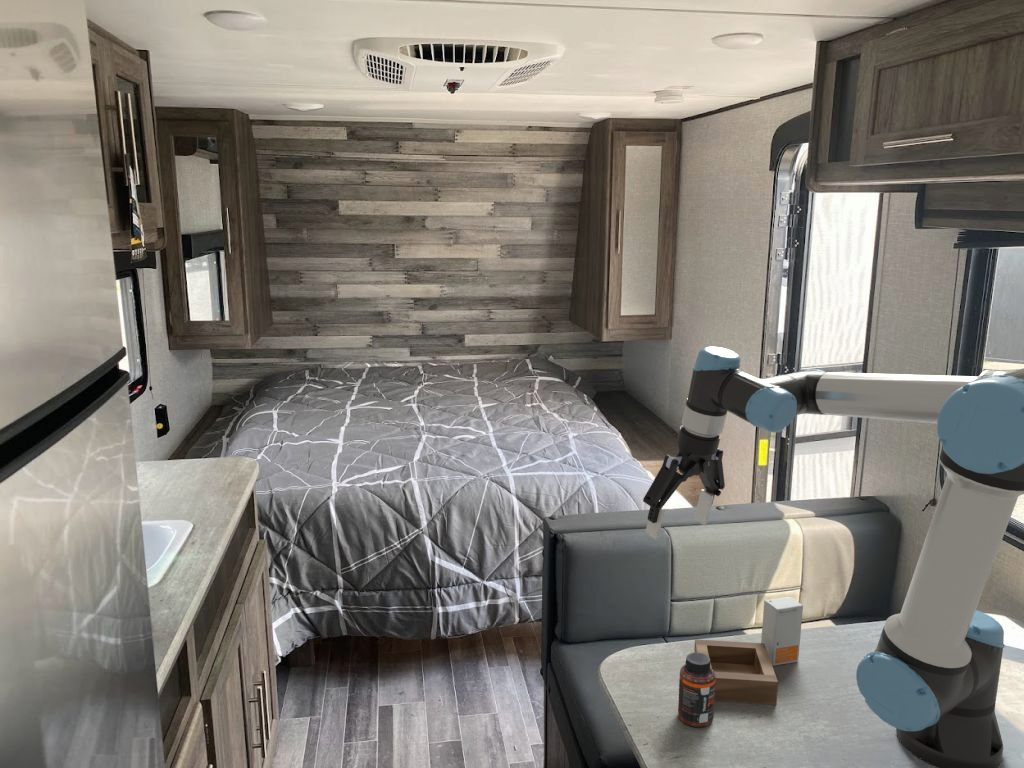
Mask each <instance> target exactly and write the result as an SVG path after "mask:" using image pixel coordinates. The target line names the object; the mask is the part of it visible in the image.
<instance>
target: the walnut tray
mask: <svg viewBox="0 0 1024 768" xmlns="http://www.w3.org/2000/svg"><path fill="white" fill-rule="evenodd" d="M695 652H696V653H703V654H705V655H707V656H708V657H709V658H710V667H711V668H712V669H713V671H714V672H715V696H714V702H715V701H716V702H728V703H729V702H730V703H743V704H746V703H747V704H759V705H774V706H775V705H776V706H777V704H778V703H777V702H778V685H779V681H778V678H777V676H776V672H775V669H774V666H772V664H771V661H770V658H769V655H768V652H767V650H766V647H765V644H764V643H761V642H750V641H749V642H748V641H747V642H746V641H731V640H730V641H729V640H715V639H697V638H695V639H694V652H693V653H695Z"/></svg>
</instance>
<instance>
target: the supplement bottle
mask: <svg viewBox="0 0 1024 768" xmlns="http://www.w3.org/2000/svg"><path fill="white" fill-rule="evenodd" d="M685 659H686V660H685V663H684V664H683V665H682V666H681V668H680V670H679V680H678V681H679V682H678V683H679V684H678V705H677V706H678V707H677V715H678V717H679V719H680V721H681V722H683V723H684V724H685V725H688V726H691V727H696V728H703V727H707V726H709V725H711V723H712V722H713V720H714V713H715V712H714V711H715V701H714V696H715V672H714V671H713V669H712V668H711V667H710V658H709V657H708V656H707V655H705V654H703V653H696V652H695V653H694V652H690V653H688V654H687V655H686V657H685Z"/></svg>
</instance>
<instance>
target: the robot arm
mask: <svg viewBox="0 0 1024 768" xmlns="http://www.w3.org/2000/svg"><path fill="white" fill-rule="evenodd" d="M740 364H741V356H740V355H739V354H738V353H736V351H734V350H731V349H728V348H725V347H720V346H705V347H702V348H701V349H700V350H699V351H698V353H697V357H696V360H695V364H694V367H693V368H692V375H691V381H690V384H689V385H690V386H689V390H688V394H687V398H686V403H685V407H684V411H683V414H682V419H681V425H680V427H679V431H678V434H677V439H676V444H677V447H678V453H677V454H676V456H671V455H670V454H666V455H665V457H664V459H663V463H662V466H661V467H660V469H659V470H658V473H657V474H656V476H655V478H654V479H653V481H652V483H651V485H650V487H649V488H648V490H647V492H646V493H645V494H644V497H643V499H642V502H644V503H645V504H646V505H647V506H649V510H648V514H647V524H646V528H645V534H647V535H648V536H650V537H651V538H652V539H654V540H658V539H659V536H660V532H661V530H662V524H663V520H664V517H665V512H666V508H665V507H664V506H665V504H666V503H667V502H668V501H669V499H670V498H671V496H672V495H673V494H674V493H675V492H676V490H677V489H678V488H679V486H680V485H681V484H682V483H683V482H686V481H687V480H688V479H689V478H692V477H693V476H699V479H700V481H701V483H702V485H703V488H704V489H700V492H699V496H698V500H697V504H696V509H695V513H694V516H693V519H694V520H695V521H696V522H697V521H698V522H699V523H700V524H701V525H703V526H705V525H707V524H708V520H709V515H710V512H711V509H712V508H711V507H712V505H713V502H714V500H715V499H714V498H715V496H717V497H719V496H721V494H722V491H721V490H724V489H725V488H726V483H725V475H724V469H723V468H724V466H723V455H724V450H723V449H721V448H719V445H720V441H721V438H722V437H721V434H722V433H723V430H724V426H725V423H726V422H725V421H726V420H727V419H726V418H727V414H728V412H729V413H730V414H732V415H734V416H736V417H738V418H740V419H741V420H743V421H746V422H748V423H749V424H751V425H752V426H754V427H756V428H758V429H762V430H765V431H766V432H769V433H779V432H782V431H784V429H785V427H788V426H789V425H790V424H791V423H792V421H793V419H794V418H795V416H798V415H806V414H807V415H821V416H822V415H823V416H837V417H852V418H861V419H862V418H863V419H864V418H865V419H875V420H888V421H900V422H911V423H912V422H914V423H923V424H925V423H926V424H936V431H937V436H938V440H940V442H941V444H942V448H941V452H940V455H939V458H938V462H939V463H940V465H941V467H942V468H943V469H944V471H945V473H946V477H945V480H944V483H943V486H942V489H941V492H940V495H939V497H938V501H937V503H936V506H935V509H934V513H933V515H932V519H931V522H930V524H929V526H928V527H929V528H928V530H927V534H926V536H925V539H924V542H923V545H922V547H921V551H920V554H919V557H918V560H917V563H916V565H915V568H914V572H913V575H912V579H911V581H910V584H909V587H908V590H907V592H906V595H905V599H904V601H903V605H902V607H901V611H900V613H895V614H892V615H891V616H888V618H887V619H886V620H885V622H884V625H883V627H882V630H881V633H880V637H879V640H878V642H877V645H876V648H875V649H874V650H873V651H872V652H867V654H866V655H865V656H863V658H862V659H861V661H860V662H858V665H857V667H856V671H855V673H856V675H855V677H856V684H857V687H858V690H859V693H860V694H861V695H862V697H864V702H865V703H866V706H868V707H869V709H870V710H871V711H872V712H873V713H874V714H875V715H876V716H877V717H878V718H879V719H881V720H882V721H883V722H884V723H885V724H888V725H889V726H891V727H893V728H895V731H896V732H895V733H896V735H897V738H898V740H899V741H900V744H901V745H903V746H904V747H905V748H906V749H907V751H909V752H910V753H911V754H912V755H914V756H915V757H917V758H918V759H920V760H922V761H924V762H926V763H928V764H930V765H933V766H934V767H937V768H999V766H1001V764H1002V761H1003V754H1004V744H1003V743H1004V741H1003V739H1002V735H1001V732H1000V728H999V723H998V720H997V716H996V711H995V710H996V704H997V703H996V702H997V694H998V686H999V681H1000V674H1001V667H1002V659H1003V652H1004V648H1005V643H1004V638H1005V637H1004V635H1005V631H1004V628H1003V626H1002V625H1001V624H1000V622H999V621H997V620H996V619H995V618H994V617H992V616H991V615H988V614H987V613H984V612H982V611H981V610H977V608H978V605H979V602H980V600H981V597H982V594H983V593H984V592H983V591H984V589H985V586H986V584H987V581H988V578H989V576H990V573H991V570H992V568H993V564H994V562H995V560H996V558H997V554H998V551H999V549H1000V546H1001V543H1002V541H1003V538H1004V536H1005V533H1006V531H1007V528H1008V525H1009V521H1010V520H1011V518H1012V514H1013V512H1014V509H1015V507H1016V504H1017V501H1018V500H1019V499H1018V498H1019V497H1020V496H1022V495H1024V368H1017V369H986V370H984V371H982V372H981V373H980V374H979V375H978V376H976V375H975V376H974V375H973V376H970V375H943V374H939V375H937V374H933V375H932V374H910V373H909V374H907V373H906V374H901V373H898V374H897V373H873V372H872V373H869V372H868V373H867V372H866V373H865V372H836V371H835V372H833V371H832V372H830V371H829V372H827V371H825V370H824V369H823V370H821V369H819V368H818V369H816V368H815V369H813V368H812V369H802V370H800V371H797V372H792V373H786V374H780V375H775V376H769V377H764V378H763V377H762V378H759V377H757V376H755V375H752V374H750V373H747V372H746V371H744V370H742V369H740V367H741V365H740ZM678 471H679V472H678Z"/></svg>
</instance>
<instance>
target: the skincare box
mask: <svg viewBox="0 0 1024 768" xmlns="http://www.w3.org/2000/svg"><path fill="white" fill-rule="evenodd" d="M803 609H804V605H803V604H801V603H800V602H798V601H797V599H794V598H793V597H792V596H785V597H776V598H771V599H765V600H764V601H763V613H762V614H763V615H762V624H761V625H762V626H761V640H760V643H764V644H765V647H766V650H767V652H768V655H769V658H770V661H771V664H772V666H773V667H774V666H779V665H784V664H785V665H786V664H787V665H788V664H791V663H798V662H799V655H800V646H801V645H800V643H801V633H802V624H803V623H802V622H803Z"/></svg>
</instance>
